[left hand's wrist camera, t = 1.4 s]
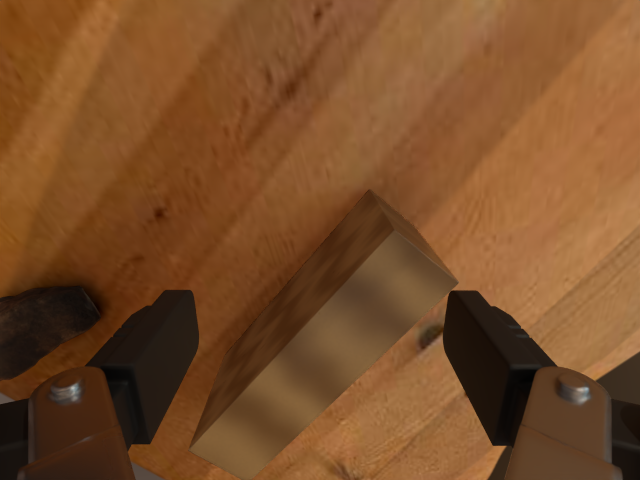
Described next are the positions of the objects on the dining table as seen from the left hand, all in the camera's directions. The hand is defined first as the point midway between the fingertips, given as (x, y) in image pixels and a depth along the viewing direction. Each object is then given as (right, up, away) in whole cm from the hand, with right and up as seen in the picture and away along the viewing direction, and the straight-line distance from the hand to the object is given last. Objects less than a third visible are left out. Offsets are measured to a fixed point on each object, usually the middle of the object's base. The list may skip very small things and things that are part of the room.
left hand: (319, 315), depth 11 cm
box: (-1, -3, +25) cm, 26 cm away
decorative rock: (-28, -5, +26) cm, 39 cm away
